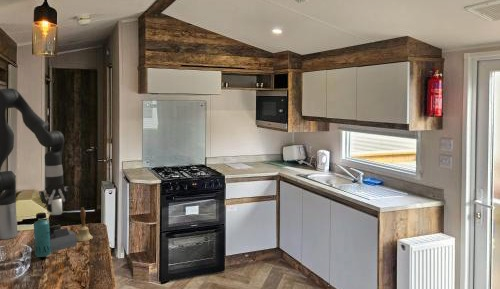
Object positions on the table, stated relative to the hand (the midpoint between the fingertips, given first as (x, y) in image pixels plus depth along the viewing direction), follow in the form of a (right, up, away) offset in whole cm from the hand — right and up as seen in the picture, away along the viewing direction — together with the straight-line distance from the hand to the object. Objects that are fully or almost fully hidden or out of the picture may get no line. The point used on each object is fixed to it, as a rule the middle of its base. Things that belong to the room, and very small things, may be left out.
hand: (56, 210), depth 200 cm
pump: (0, -1, 0) cm, 1 cm away
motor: (-1, -18, +1) cm, 18 cm away
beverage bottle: (-1, -19, -10) cm, 22 cm away
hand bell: (+7, -16, +14) cm, 23 cm away
